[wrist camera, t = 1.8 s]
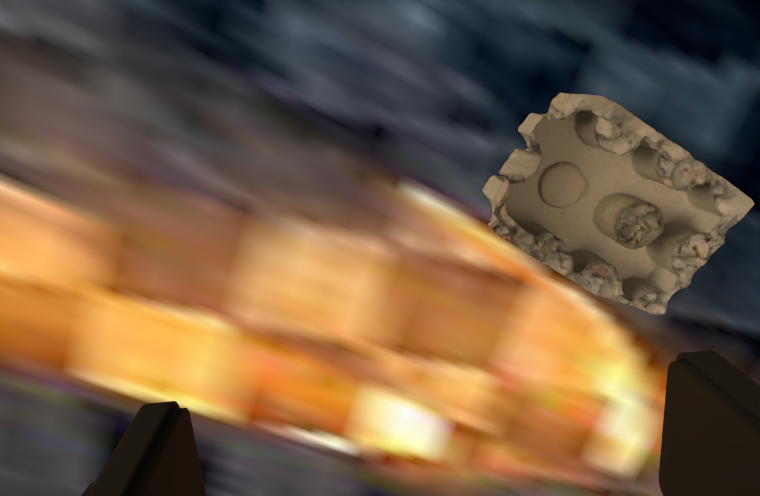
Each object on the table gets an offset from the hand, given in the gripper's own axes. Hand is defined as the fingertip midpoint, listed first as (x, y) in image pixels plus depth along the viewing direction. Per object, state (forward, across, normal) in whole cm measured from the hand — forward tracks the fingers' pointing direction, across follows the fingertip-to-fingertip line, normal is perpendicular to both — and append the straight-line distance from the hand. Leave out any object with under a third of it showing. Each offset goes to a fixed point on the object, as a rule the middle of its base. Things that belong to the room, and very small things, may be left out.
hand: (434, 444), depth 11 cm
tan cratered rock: (+18, -11, 0) cm, 21 cm away
